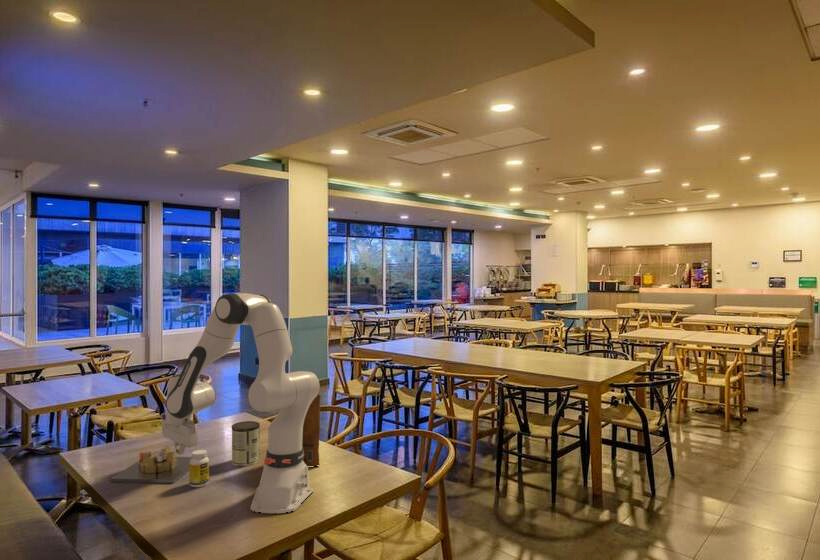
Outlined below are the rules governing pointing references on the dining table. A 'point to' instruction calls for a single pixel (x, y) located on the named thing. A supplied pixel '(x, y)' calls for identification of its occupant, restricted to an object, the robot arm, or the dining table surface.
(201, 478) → the pill bottle
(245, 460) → the coffee can
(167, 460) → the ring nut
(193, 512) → the dining table surface
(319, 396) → the pancake mix bag
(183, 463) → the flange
